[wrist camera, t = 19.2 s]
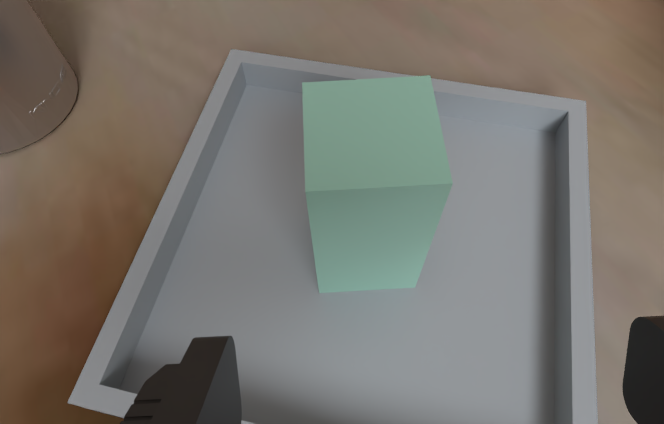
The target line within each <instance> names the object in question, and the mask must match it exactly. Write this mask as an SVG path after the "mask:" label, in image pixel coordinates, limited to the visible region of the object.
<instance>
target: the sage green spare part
mask: <svg viewBox="0 0 664 424" xmlns="http://www.w3.org/2000/svg"><path fill="white" fill-rule="evenodd" d="M302 97H303V130H304V164H305V193H306V200H307V208H308V215H309V223H310V230H311V237H312V245H313V252H314V259H315V267H316V274H317V282H318V289H319V293H329V292H347V291H364V290H381V289H398V288H415V286H416V284H417V281H418V278H419V275H420V273H421V270H422V267H423V264H424V262H425V259H426V256H427V253H428V251H429V248H430V245H431V242H432V240H433V237H434V234H435V231H436V229H437V226H438V223H439V220H440V218H441V215H442V212H443V209H444V206H445V204H446V201H447V198H448V195H449V193H450V190H451V187H452V184H453V182H452V177H451V172H450V167H449V163H448V158H447V153H446V148H445V143H444V139H443V134H442V129H441V124H440V119H439V115H438V110H437V105H436V100H435V95H434V91H433V86H432V81H431V76H430V75H429V76H411V77H393V78H375V79H357V80H339V81H321V82H303V83H302Z"/></svg>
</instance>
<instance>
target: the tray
mask: <svg viewBox="0 0 664 424" xmlns="http://www.w3.org/2000/svg"><path fill="white" fill-rule="evenodd" d="M411 76H412V75H405V74H399V73H392V72H385V71H378V70H371V69H365V68H358V67H351V66H344V65H337V64H331V63H324V62H317V61H310V60H303V59H297V58H290V57H283V56H276V55H269V54H263V53H256V52H249V51H242V50H235V49H231V51H230V53H229V55H228V57H227V59H226V61H225V64H224V66H223V68H222V70H221V72H220V74H219V77H218V79H217V81H216V83H215V85H214V87H213V89H212V92H211V94H210V96H209V98H208V100H207V102H206V105H205V107H204V109H203V111H202V113H201V115H200V118H199V120H198V122H197V124H196V126H195V128H194V131H193V133H192V135H191V137H190V139H189V141H188V143H187V146H186V148H185V150H184V152H183V154H182V156H181V159H180V161H179V163H178V165H177V167H176V169H175V172H174V174H173V176H172V178H171V180H170V182H169V184H168V187H167V189H166V191H165V193H164V195H163V197H162V200H161V202H160V204H159V206H158V208H157V210H156V213H155V215H154V217H153V219H152V221H151V223H150V225H149V228H148V230H147V232H146V234H145V236H144V238H143V241H142V243H141V245H140V247H139V249H138V251H137V254H136V256H135V258H134V260H133V262H132V264H131V266H130V269H129V271H128V273H127V275H126V277H125V279H124V282H123V284H122V286H121V288H120V290H119V292H118V295H117V297H116V299H115V301H114V303H113V305H112V308H111V310H110V312H109V314H108V316H107V318H106V320H105V323H104V325H103V327H102V329H101V331H100V333H99V336H98V338H97V340H96V342H95V344H94V346H93V349H92V351H91V353H90V355H89V357H88V359H87V361H86V364H85V366H84V368H83V370H82V372H81V374H80V377H79V379H78V381H77V383H76V385H75V387H74V390H73V392H72V394H71V396H70V398H69V400H68V402H67V403H70V404H73V405H77V406H80V407H84V408H87V409H91V410H94V411H98V412H101V413H105V414H109V415H113V416H117V417H121V418H124V416H125V414H126V413H127V411H128V409H129V408H130V406H131V404H134V399H135V398H136V396H137V394H138V393H139V391H140V389H141V388H142V386H143V384H144V383H145V381H146V380H147V379H149V378H150V377H151V376H152V375H153V374H155V373H156V372H157V371H158V370H159V369H161V368H162V367H163V366H164V365H166V364H180V362H181V360H182V358H183V356H184V354H185V352H186V351H187V349H188V347H189V345H190V343H191V341H192V339H193V338H195V337H213V336H232V337H233V340H234V344H235V350H236V359H237V368H238V377H239V386H240V395H241V405H242V421H241V424H598V415H597V388H596V360H595V333H594V306H593V279H592V252H591V224H590V197H589V170H588V143H587V116H586V101H582V100H575V99H569V98H562V97H555V96H548V95H541V94H535V93H528V92H521V91H514V90H507V89H501V88H494V87H487V86H480V85H473V84H467V83H460V82H453V81H446V80H439V79H433V78H431V81H432V86H433V91H434V95H435V100H436V105H437V110H438V115H439V119H440V124H441V129H442V134H443V139H444V143H445V148H446V153H447V158H448V163H449V167H450V172H451V177H452V182H453V184H452V187H451V190H450V193H449V195H448V198H447V201H446V204H445V206H444V209H443V212H442V215H441V218H440V220H439V223H438V226H437V229H436V231H435V234H434V237H433V240H432V242H431V245H430V248H429V251H428V253H427V256H426V259H425V262H424V264H423V267H422V270H421V273H420V275H419V278H418V281H417V284H416V286H415V288H398V289H381V290H364V291H347V292H329V293H319V289H318V282H317V274H316V267H315V259H314V252H313V245H312V237H311V230H310V223H309V215H308V208H307V200H306V193H305V164H304V130H303V97H302V83H303V82H321V81H339V80H357V79H375V78H393V77H411Z"/></svg>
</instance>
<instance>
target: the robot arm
mask: <svg viewBox="0 0 664 424" xmlns="http://www.w3.org/2000/svg"><path fill="white" fill-rule="evenodd" d="M77 92H78V84H77V78H76V76H75V73H74V71H73V70H72V68H71V67H70V65H69V64H68V62H67V61H66V59H65V58H64V56H63V55H62V53H61V52H60V50H59V48H58V47H57V45H56V44H55V42H54V41H53V39H52V38H51V36H50V35H49V33H48V32H47V30H46V29H45V27H44V25H43V24H42V22H41V21H40V19H39V18H38V16H37V15H36V13H35V12H34V10H33V9H32V7H31V6H30V4H29V3H28V1H27V0H0V154H1V153H7V152H11V151H14V150H17V149H20V148H23V147H25V146H27V145H30V144H32V143H34V142H36V141H38V140H39V139H41V138H42V137H44V136H45V135H47V134H48V133H50V132H51V131H52V130H54V129H55V128H56V127H57V126H58V125H59V124H60V123H61V122H62V121H63V120H64V119H65V117H66V116H67V115H68V113H69V112H70V111H71V109H72V107H73V105H74V103H75V101H76V96H77ZM623 396H624V400H625V403H626V406H627V409H628V411H629V413H630V414H631V416H632V417H633V419H634V420H635V421H636V422H637V423H638V424H664V316H650V317H638V318H636V319H635V320H634V321H633V323H632V325H631V328H630V333H629V341H628V348H627V356H626V363H625V371H624V378H623ZM241 421H242V405H241V395H240V386H239V377H238V368H237V359H236V350H235V344H234V340H233V337H232V336H213V337H195V338H193V339H192V341H191V343H190V345H189V347H188V349H187V351H186V352H185V354H184V356H183V358H182V360H181V362H180V364H166V365H164V366H163V367H162V368H161V369H159V370H158V371H157V372H156V373H155V374H153V375H152V376H151V377H150V378H149V379H147V380H146V381H145V383H144V384H143V386H142V388H141V389H140V391H139V393H138V394H137V396H136V398H135V399H134V404H131V406H130V408H129V409H128V411H127V413H126V414H125V416H124V421H121V423H120V424H241Z"/></svg>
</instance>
